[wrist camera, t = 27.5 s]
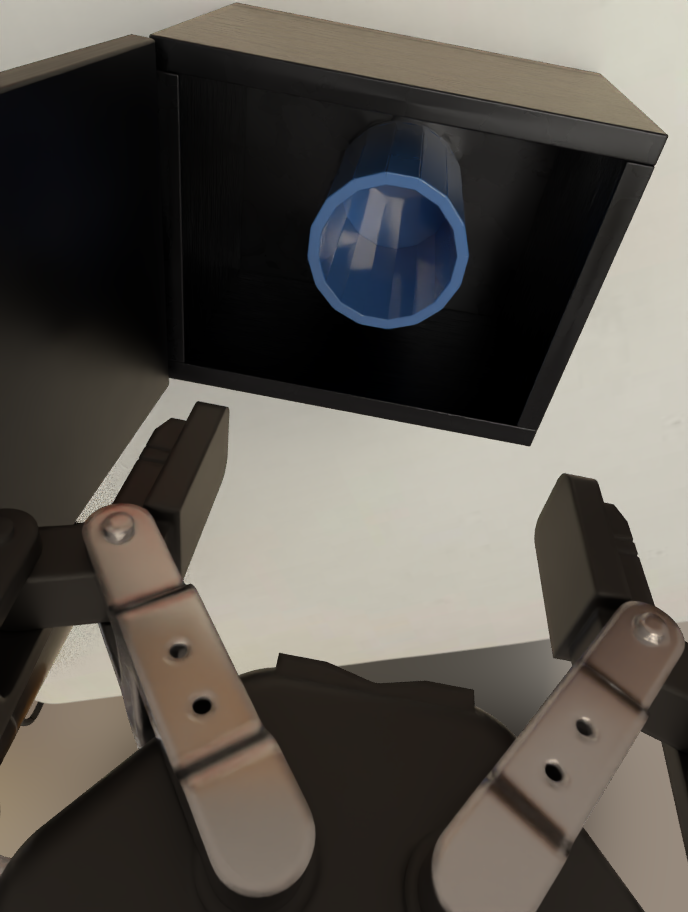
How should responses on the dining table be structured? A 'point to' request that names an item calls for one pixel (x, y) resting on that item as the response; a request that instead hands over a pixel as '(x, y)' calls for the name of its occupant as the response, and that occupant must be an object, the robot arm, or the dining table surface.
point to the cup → (391, 227)
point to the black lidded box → (305, 182)
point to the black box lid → (78, 271)
